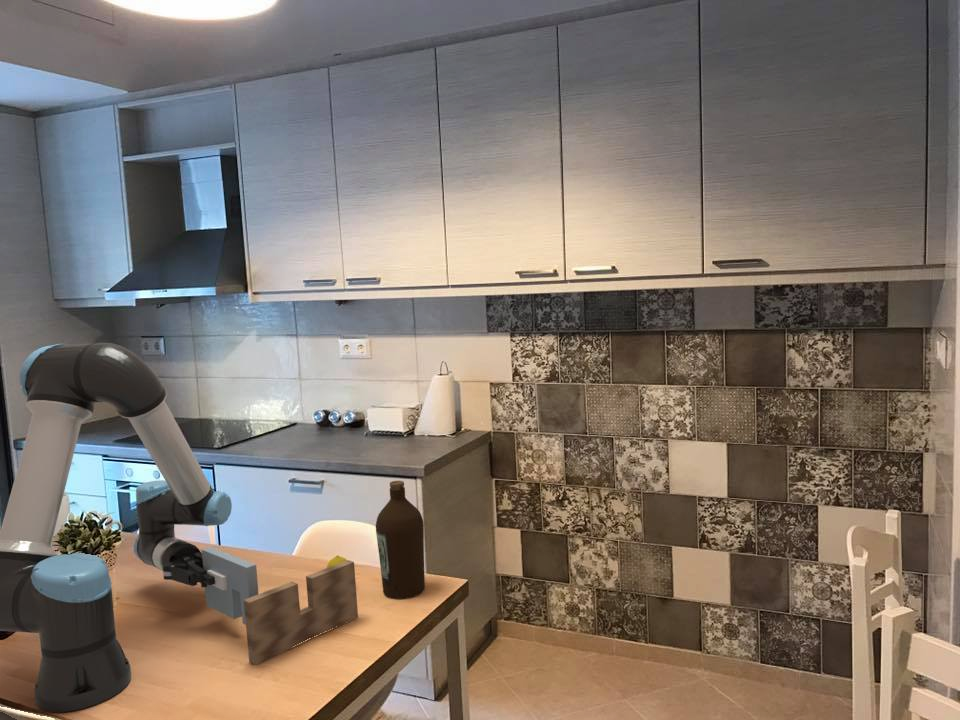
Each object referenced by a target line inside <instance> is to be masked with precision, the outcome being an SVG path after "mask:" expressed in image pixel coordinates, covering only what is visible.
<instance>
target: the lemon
mask: <svg viewBox="0 0 960 720" xmlns="http://www.w3.org/2000/svg"><path fill="white" fill-rule="evenodd" d="M347 560H348V559H346V558H345V557H343V556H340V555H336V556H334V557H333V558H331V559H330V560H329V561H328V563H327V565H326V568H328V567H331V566H334V565H336V564H339V563H342V562H344V561H347Z"/></svg>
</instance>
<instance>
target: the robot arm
mask: <svg viewBox="0 0 960 720" xmlns="http://www.w3.org/2000/svg"><path fill="white" fill-rule="evenodd" d="M19 385H20V386H22V388H21V391H22V394H23V395H24V396H25V397H26V398H27V399H26V402H25V406H26V407H27V409H28V411H30V413H31V415H32V416H31V419H30V422H29V426H28V430H27V433H26V437H25V439H24V440H25V441H24V445H23V448H22V451H21V455H20V459H19V461H18V466H17V468H16V469H17V470H16V474H15V477H14V481H13V483H12V488H11V492H10V494H9V498H8V501H7V506H6V509H5V513H4V517H3V520H2V524H1V528H0V632H17V633H28V634H29V633H31V634H38V635H39V644H40V651H41V658H40V659H41V660H40V666H39V670H38V676H37V681H36V683H35V686H34V689H33V690H34V691H33V695H34V702H35V705H36V707H37V708H38V709H39V710H41V711H44V712H48V713H49V712H50V713H67V712H72V711H74V712H75V711H77V710H83V709H86V708H88V707H92V706H95V705H98V704H100V703H103V702H105V701H107V700H109V699H110V698H112V697H114V696H116V695H118V694H119V693H120V692H122V691H123V690H124V689H125V688H126V687H127V686H128V685H129V683H130V682H131V680H132V671H131V664H130V661H129V659H128V658H127V657H126V654H125V653H124V652H125V651H124V650H123V648H122V646H121V644H120V642H119V640H118V638H117V633H116V623H115V611H114V602H113V601H114V600H113V592H112V591H113V589H112V584H113V583H112V578H111V576H110V571H109V567H108V565H107V564H108V563H106V561H105V560H104V559H102V558H101V556H100V557H98V556H95V555H91V554H85V553H79V552H73V553H71V554H65V553H62V554H59V555H57V553H56V551H54V550H53V549H52V547H51V543H52V539H53V535H54V531H55V527H56V523H57V519H58V515H59V511H60V507H61V503H62V499H63V495H64V493H65V491H66V486H67V482H68V478H69V474H70V471H71V466H72V462H73V458H74V454H75V450H76V446H77V443H78V439H79V438H78V437H79V434H80V430H81V426H82V424H83V423H84V421H85V422H86V420H88V419H90V418H92V416H93V414H94V409H95V405H96V403H107V404H108V405H109V404H110V405H111V406H113V407H114V408H115V409H116V411H117V413H118V414H119V416H120V417H122V418H125V419H128V421H129V422H130V424H131V425H132V428H133V429H134V430H135V432H136V434H137V435H138V437H139V439H140V440H141V442H142V444H143V446H144V447H145V449H146V451H147V453H148V454H149V455H150V458H151V459H152V460H153V462H154V463H155V466H156V467H157V469H158V470H159V472H160V474H161V475H162V476H161V477H163V479H164V480H152V481H145V482H143V483H141V484H139V485H138V486H136V489H135V499H136V500H135V501H136V502H135V506H136V517H137V523H138V536H137V537H136V538H135V541H134V543H133V553H134V554H135V556H136V557H137V558H138V559H139V560H140V561H141V562H143V564H146V565H149V566H151V567H154V568H156V569H158V570H161V571H162V575H163V580H165V581H166V580H168V581H169V580H170V581H174V582H177V583H180V584H184V585H187V586H191V587H195V586H197V585H198V583H199V584H200V587H201V588H205V587H207V584H208V585H213V586H215V587H217V588H219V589H221V590H223V591H225V590H227V580H226V576H224V575H222V574H219V573H217V572H215V571H212V570H208V571H207V573H206V570H204V569H203V559H202V551H201V550H200V549H199V548H198V547H197V545H195V544H193V543H190V542H188V541H185V540H183V539H180V538H177V537H176V535H175V534H176V532H175V526H176V525H182V526H183V525H184V526H185V525H186V526H203V527H204V526H205V527H210V526H222V525H223V524H225V523H226V522H227V521H228V519H229V517H230V515H231V513H232V506H233V505H232V499H231V497H230V495H229V494H228V493H226V492H224V491H219V490H216V491H215V490H214V489H213V487H212V486H211V484H210V481H209V479H208V478H207V476H206V474H205V473H204V471H203V469H202V467H201V464H200V463H199V462H198V459H197V458H196V456H195V454H194V453H193V451H192V448H191V447H190V444H189V443H188V442H187V440H186V437H185V435H184V434H183V432H182V430H181V428H180V426H179V425H178V422H177V421H176V420H175V419H176V418H175V417H174V415H173V414H172V411H171V410H170V408H169V405H167V403H166V401H165V400H166V398H167V391H166V390H165V388H164V386H163V384H162V382H161V380H160V379H159V378H158V376H157V374H156V373H155V372H154V371H153V369H152V368H150V366H149V365H148V364H147V363H146V362H145V361H143V360H142V358H140V357H139V356H138V355H136V354H135V353H134V352H132V351H131V349H130V350H129V349H128V348H126V347H124V346H121V345H119V344H115V343H111V342H97V343H73V344H69V343H58V344H54V345H53V344H52V345H46V346H42V347H40V348H38V349H36V350H34V351H33V352H31V353H30V354H29V355H28V356H27V358H26V359H25V361H24V362H23V364H22V365H21V368H20V372H19Z"/></svg>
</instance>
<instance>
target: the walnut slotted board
mask: <svg viewBox="0 0 960 720" xmlns="http://www.w3.org/2000/svg"><path fill="white" fill-rule="evenodd" d="M346 560H347V561H344V562H342V563H339V564H336V565H334V566H331V567H328V568H327V567H326V568H324V569H321V570H319V571H316V572H313V573H310V574H308V575H306V576H305V580H306V581H305V582H306V594H307V595H306V596H307V607H304V608H302V609H301V606H300V595H299V594H300V593H299V584H298V583H297V582H294V581H290V582H287V583H284V584H282V585H279V586H276V587H274V588H272V589H269V590H266V591H264V592H261V593H258V595H255V596H253V597H250V598H248V599H245V600H244V610H245V621H246V625H245V628H246V629H245V630H246V631H245V632H246V640H247V641H246V642H247V643H246V644H247V651H248V662H249V663H251V664H252V665H254V666H256V665H258V664H261V663H262V662H265V661H267V660H269V659H271V658H274V657H275V656H278V655H280V654H282V653H285V652H287V651H288V650H287V649H289V650H291V649H292V647H293V646H295V645H297V644H299V643H301V642H303V641H305V640H307V639H309V638H312V637H314V636H316V635H319V634H320V633H323V632H325V631H328V630H330V629H332V628H335V627H336V626H339V625H341V626H343V625H345V624H347V623H346V622H348V623H350V622H352V621H354V620H356V619H358V618H359V612H358V609H359V608H358V599H357V585H356V584H357V583H356V570H355V562H354V561H352V560H349V559H346ZM353 619H354V620H353ZM349 621H350V622H349ZM344 623H345V624H344ZM342 624H343V625H342ZM339 627H340V626H339ZM335 629H336V628H335ZM332 630H333V629H332ZM330 631H331V630H330ZM328 632H329V631H328ZM319 636H320V635H319ZM295 647H296V646H295ZM290 648H291V649H290ZM293 648H294V647H293ZM286 650H287V651H286ZM284 651H285V652H284ZM279 653H280V654H279Z"/></svg>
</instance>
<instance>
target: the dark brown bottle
mask: <svg viewBox="0 0 960 720" xmlns="http://www.w3.org/2000/svg"><path fill="white" fill-rule="evenodd" d="M404 486H405V481H404V480H393V481H391V482H389V497H390V499H389V500H388V502H386V505H384V507H383V508H382V509H381V510H380V512H379V513H378V516H377V517H376V522H375V533H376V535H375V536H376V541H377V548H378V549H377V550H378V556H379V557H378V558H379V559H378V560H379V565H380V575H381V576H380V577H381V586H382V591H383V592H382V593H383V595H384V596H385V597H387V598H389V599H395V600H403V599H410V598H415V597H418V596H419V595H421V594H423V592H425V588H426V585H425V584H426V582H425V579H426V577H425V549H424V548H425V545H424V544H425V543H424V542H425V541H424V540H425V539H424V538H425V537H424V535H425V532H424V531H425V529H424V526H425V525H424V519H423V516H422V514H421V512H420V510H419V509H418V508H417V507H416V506H415V505H413V504H412V502H410V501H409V500H408V499H407V498H406V488H405V487H404Z"/></svg>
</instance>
